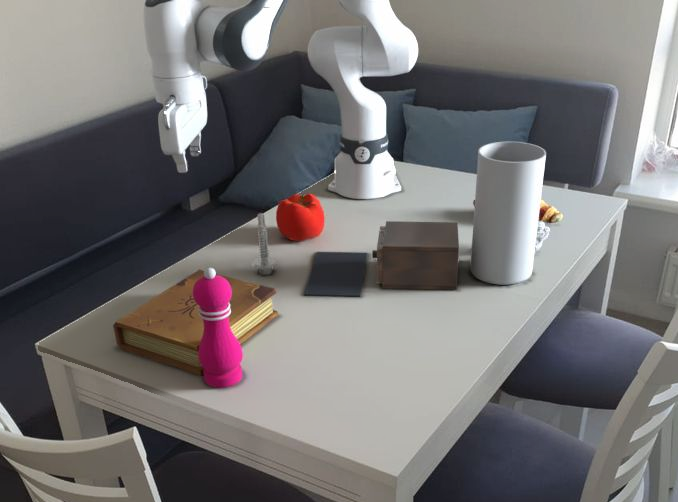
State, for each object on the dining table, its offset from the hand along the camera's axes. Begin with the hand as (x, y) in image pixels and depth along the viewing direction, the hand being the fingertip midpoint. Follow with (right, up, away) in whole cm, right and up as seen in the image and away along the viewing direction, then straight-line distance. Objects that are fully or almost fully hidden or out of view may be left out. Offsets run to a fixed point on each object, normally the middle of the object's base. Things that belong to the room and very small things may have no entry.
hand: (189, 163), depth 154 cm
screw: (+13, -20, +12) cm, 27 cm away
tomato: (+20, -9, +27) cm, 35 cm away
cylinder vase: (+62, -20, +10) cm, 66 cm away
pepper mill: (+10, -42, -21) cm, 48 cm away
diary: (+4, -33, -8) cm, 34 cm away
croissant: (+70, -4, +33) cm, 77 cm away
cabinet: (+45, -20, +9) cm, 51 cm away
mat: (+28, -20, +11) cm, 36 cm away
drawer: (+43, -20, +9) cm, 48 cm away
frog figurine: (+70, -14, +18) cm, 73 cm away
